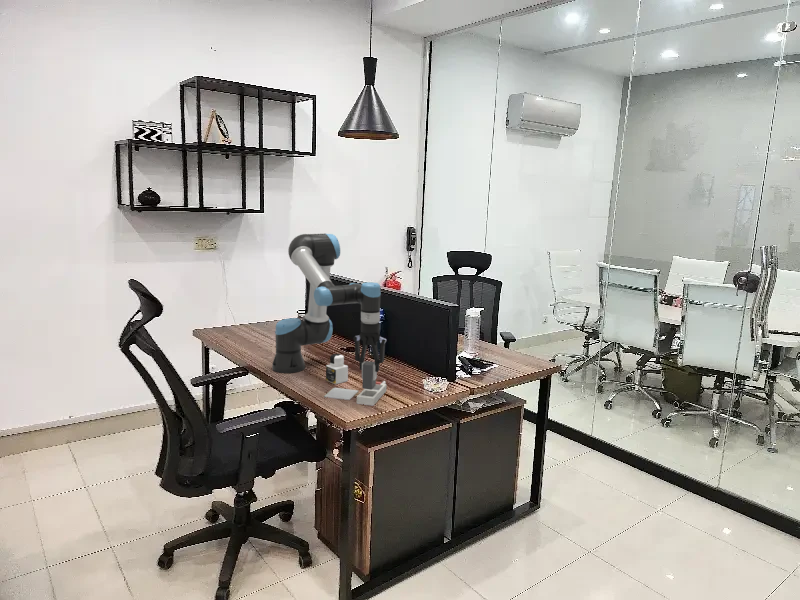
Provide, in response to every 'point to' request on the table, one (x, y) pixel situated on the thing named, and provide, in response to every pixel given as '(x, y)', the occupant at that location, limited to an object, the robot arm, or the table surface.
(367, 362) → the block
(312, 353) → the table surface
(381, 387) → the power strip
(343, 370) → the medicine bottle
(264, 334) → the table surface
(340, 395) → the mat
